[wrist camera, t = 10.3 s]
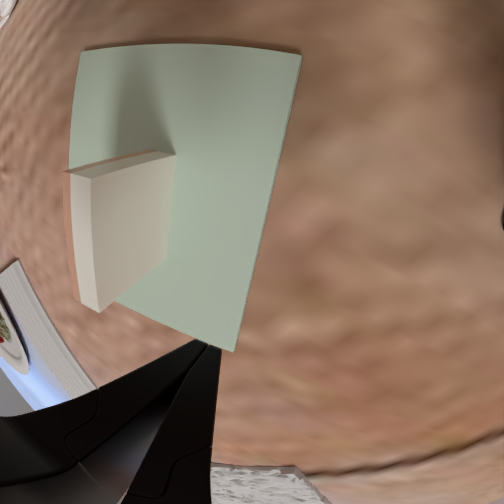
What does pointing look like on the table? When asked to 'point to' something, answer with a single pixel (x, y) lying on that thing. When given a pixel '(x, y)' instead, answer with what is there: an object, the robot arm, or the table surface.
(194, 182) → the mat
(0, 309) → the plated food
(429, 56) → the table surface
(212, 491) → the carpet tile
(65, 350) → the baseboard
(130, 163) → the tile
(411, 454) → the table surface
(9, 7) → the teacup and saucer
